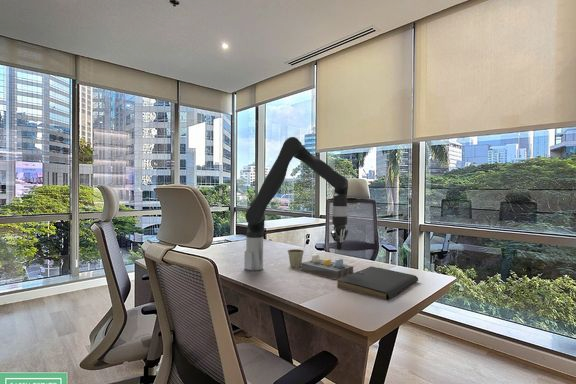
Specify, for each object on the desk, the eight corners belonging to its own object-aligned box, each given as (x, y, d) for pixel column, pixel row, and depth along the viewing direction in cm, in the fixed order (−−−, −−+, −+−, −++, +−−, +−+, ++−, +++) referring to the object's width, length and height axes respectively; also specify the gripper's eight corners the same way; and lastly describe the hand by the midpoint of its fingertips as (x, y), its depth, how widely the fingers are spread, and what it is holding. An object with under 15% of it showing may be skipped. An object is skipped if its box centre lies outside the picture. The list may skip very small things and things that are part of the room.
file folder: (370, 265, 158) (418, 275, 142) (370, 273, 158) (418, 284, 142) (336, 278, 133) (389, 292, 117) (336, 288, 133) (388, 303, 117)
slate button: (340, 270, 149) (340, 260, 149) (333, 269, 152) (333, 259, 152) (344, 269, 152) (344, 259, 152) (337, 267, 155) (338, 258, 155)
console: (337, 279, 144) (338, 271, 144) (301, 270, 160) (301, 263, 160) (353, 274, 155) (353, 266, 155) (317, 265, 170) (317, 258, 170)
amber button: (327, 270, 154) (327, 260, 154) (321, 269, 157) (321, 259, 157) (332, 269, 157) (332, 259, 157) (326, 267, 160) (326, 258, 160)
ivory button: (316, 265, 160) (316, 255, 160) (310, 263, 162) (310, 254, 162) (320, 264, 162) (320, 254, 162) (314, 262, 165) (314, 253, 165)
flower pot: (284, 264, 172) (284, 249, 172) (299, 263, 176) (299, 248, 176) (291, 268, 163) (291, 253, 163) (306, 267, 167) (307, 251, 167)
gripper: (340, 214, 160) (340, 246, 160) (326, 215, 150) (325, 250, 150) (353, 215, 154) (352, 248, 155) (338, 216, 145) (338, 252, 145)
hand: (339, 249), depth 152 cm, fingers closed
